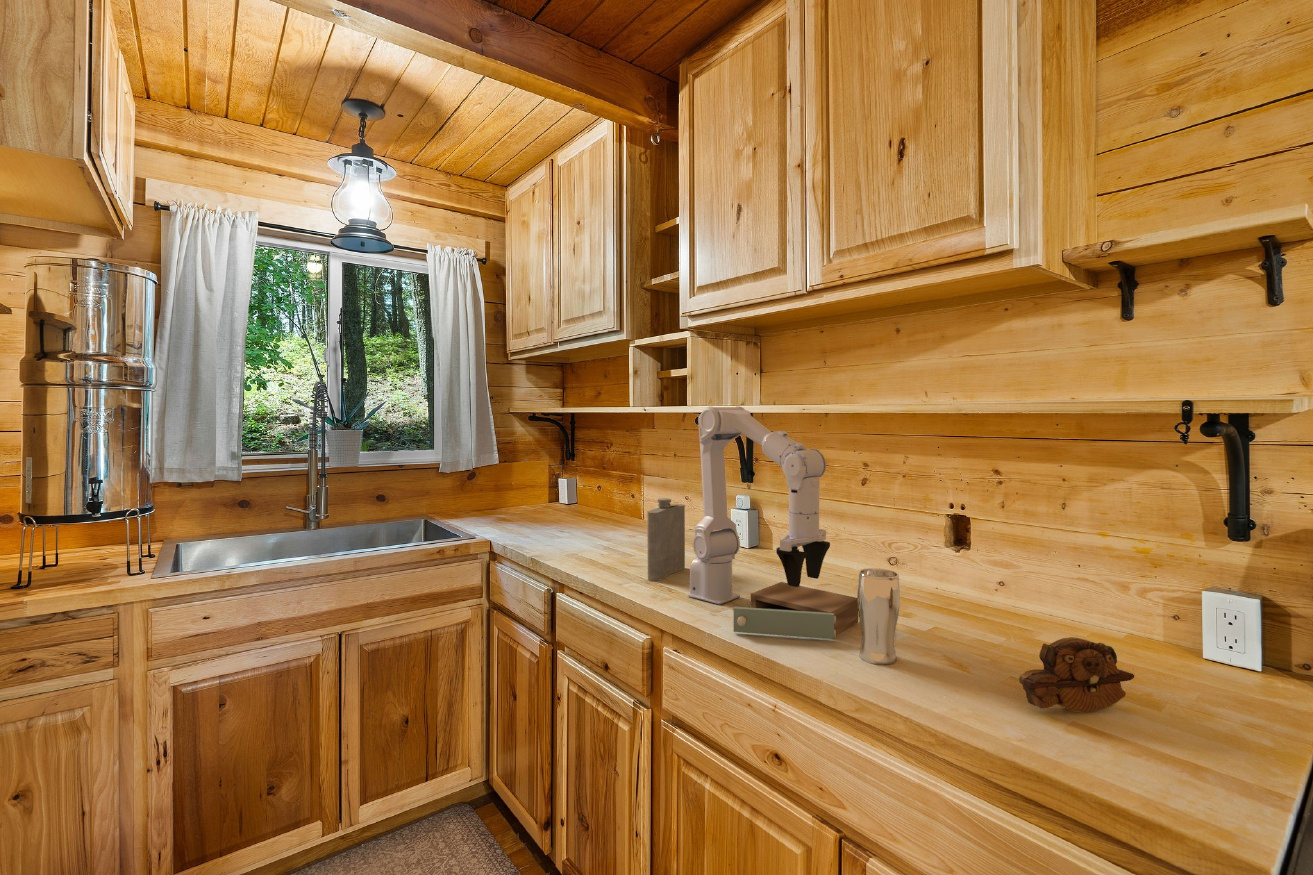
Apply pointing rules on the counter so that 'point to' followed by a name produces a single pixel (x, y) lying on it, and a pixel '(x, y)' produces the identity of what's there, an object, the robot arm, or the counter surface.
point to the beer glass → (878, 614)
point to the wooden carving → (1075, 676)
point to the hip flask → (665, 539)
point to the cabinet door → (784, 622)
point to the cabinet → (808, 602)
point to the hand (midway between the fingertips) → (803, 581)
